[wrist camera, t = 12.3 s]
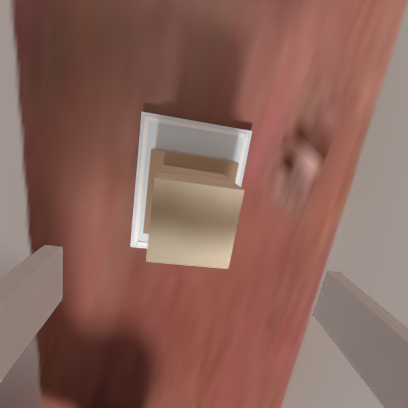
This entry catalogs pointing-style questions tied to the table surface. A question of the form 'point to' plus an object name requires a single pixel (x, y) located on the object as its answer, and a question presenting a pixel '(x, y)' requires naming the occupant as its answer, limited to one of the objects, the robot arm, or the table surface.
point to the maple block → (193, 218)
